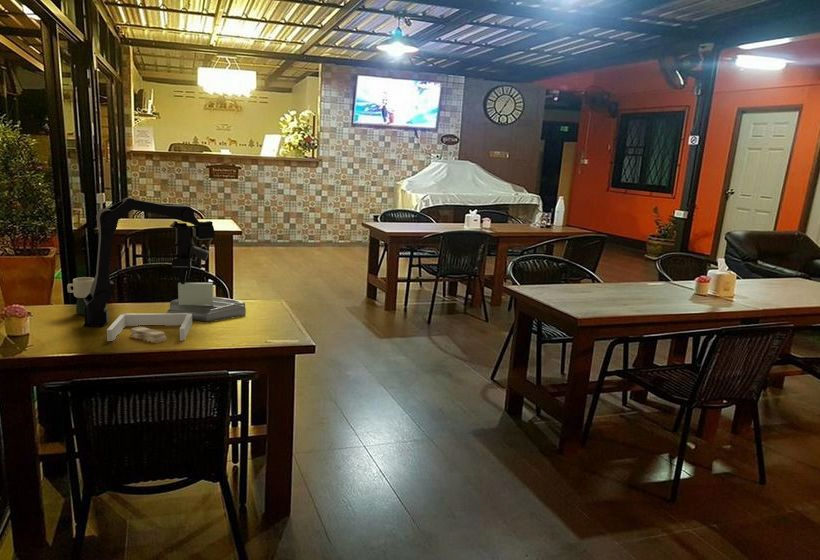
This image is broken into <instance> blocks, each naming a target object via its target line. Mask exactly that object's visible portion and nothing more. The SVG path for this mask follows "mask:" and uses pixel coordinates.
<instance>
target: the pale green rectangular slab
mask: <svg viewBox="0 0 820 560" xmlns="http://www.w3.org/2000/svg"><path fill="white" fill-rule="evenodd" d="M177 292H178V293H177V295H178V297H177V299H178V302H179V305H213V297H214V283H213V282H185V284H181V282H178V283H177Z"/></svg>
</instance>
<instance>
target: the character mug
mask: <svg viewBox="0 0 820 560" xmlns="http://www.w3.org/2000/svg"><path fill="white" fill-rule="evenodd" d="M94 278H95V277H91V276H90V277H89V276H88V277H87V276H82V277H76V278H73V279H72V283H68V284H67V286H66V288H67V293H70V294H73V297H75V298H76V305H75V306H76V307H75V313H76V314H79V315H84V307H85V306H87V305H86V304H85V302H84V298H85V297H86V296H87V295H88V294H89V293H90V290H91V287H92V283H93V281H94ZM71 287H73V289H72V288H71Z"/></svg>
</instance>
